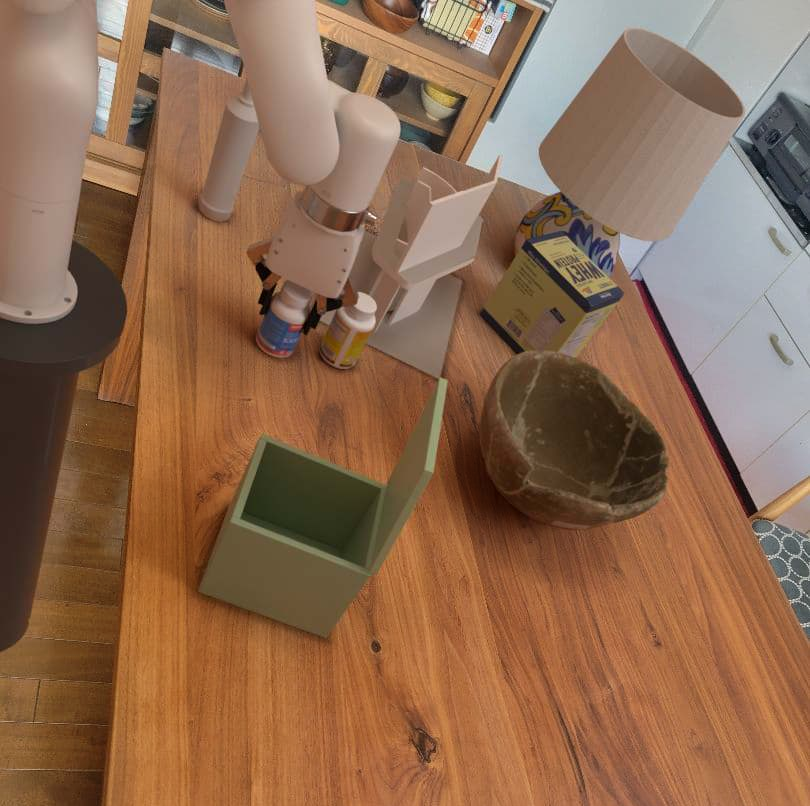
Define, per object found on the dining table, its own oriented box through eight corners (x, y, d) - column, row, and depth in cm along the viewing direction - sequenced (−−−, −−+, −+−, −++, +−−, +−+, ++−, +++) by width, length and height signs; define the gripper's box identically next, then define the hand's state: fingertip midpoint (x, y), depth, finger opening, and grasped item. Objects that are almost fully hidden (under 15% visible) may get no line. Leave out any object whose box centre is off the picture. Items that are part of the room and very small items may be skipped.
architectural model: (350, 222, 142) (409, 90, 126) (462, 280, 147) (533, 161, 130) (310, 316, 124) (372, 176, 107) (439, 379, 128) (519, 254, 111)
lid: (424, 469, 72) (433, 472, 72) (439, 376, 81) (448, 380, 81) (368, 572, 84) (377, 575, 84) (387, 482, 92) (394, 484, 92)
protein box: (512, 301, 150) (561, 228, 139) (573, 363, 147) (627, 293, 136) (477, 313, 143) (525, 237, 132) (539, 378, 140) (594, 306, 129)
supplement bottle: (357, 353, 124) (386, 299, 116) (350, 376, 120) (379, 322, 113) (322, 336, 122) (348, 281, 115) (313, 360, 119) (340, 304, 111)
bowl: (581, 610, 113) (652, 547, 102) (413, 494, 112) (467, 418, 101) (625, 491, 132) (689, 428, 121) (482, 391, 131) (533, 318, 120)
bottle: (232, 207, 131) (283, 48, 113) (230, 227, 128) (281, 67, 110) (198, 195, 129) (244, 32, 111) (195, 215, 126) (242, 50, 108)
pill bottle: (279, 365, 115) (302, 310, 108) (247, 340, 115) (269, 284, 108) (300, 348, 119) (325, 294, 112) (270, 325, 119) (292, 269, 112)
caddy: (197, 591, 90) (229, 521, 81) (229, 505, 98) (261, 432, 89) (325, 638, 93) (371, 576, 84) (346, 551, 102) (389, 486, 92)
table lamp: (626, 340, 159) (783, 149, 130) (503, 309, 147) (646, 91, 118) (584, 247, 174) (717, 57, 145) (468, 212, 162) (589, -3, 133)
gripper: (403, 221, 105) (349, 329, 118) (272, 155, 101) (231, 275, 114) (395, 253, 100) (339, 363, 113) (257, 186, 96) (216, 307, 109)
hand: (285, 318), depth 114 cm, fingers closed on pill bottle, 5 cm apart
